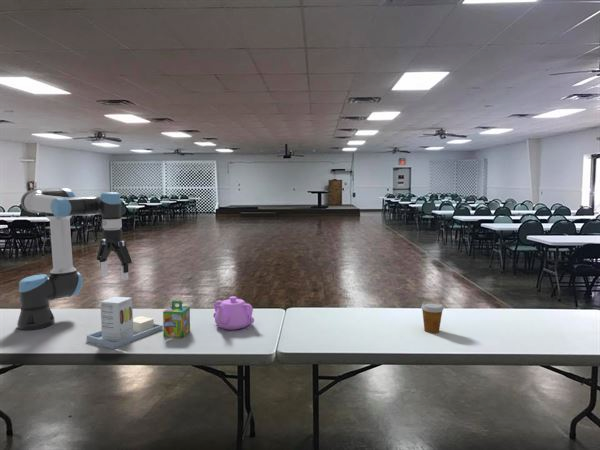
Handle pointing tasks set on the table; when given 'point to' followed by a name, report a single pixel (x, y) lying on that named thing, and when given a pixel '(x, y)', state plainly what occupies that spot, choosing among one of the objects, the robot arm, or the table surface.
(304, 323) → the table surface
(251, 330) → the table surface
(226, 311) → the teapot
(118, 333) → the supplement box
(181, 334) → the chalk box
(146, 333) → the blue-grey tray
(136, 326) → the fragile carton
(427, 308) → the disposable coffee cup
